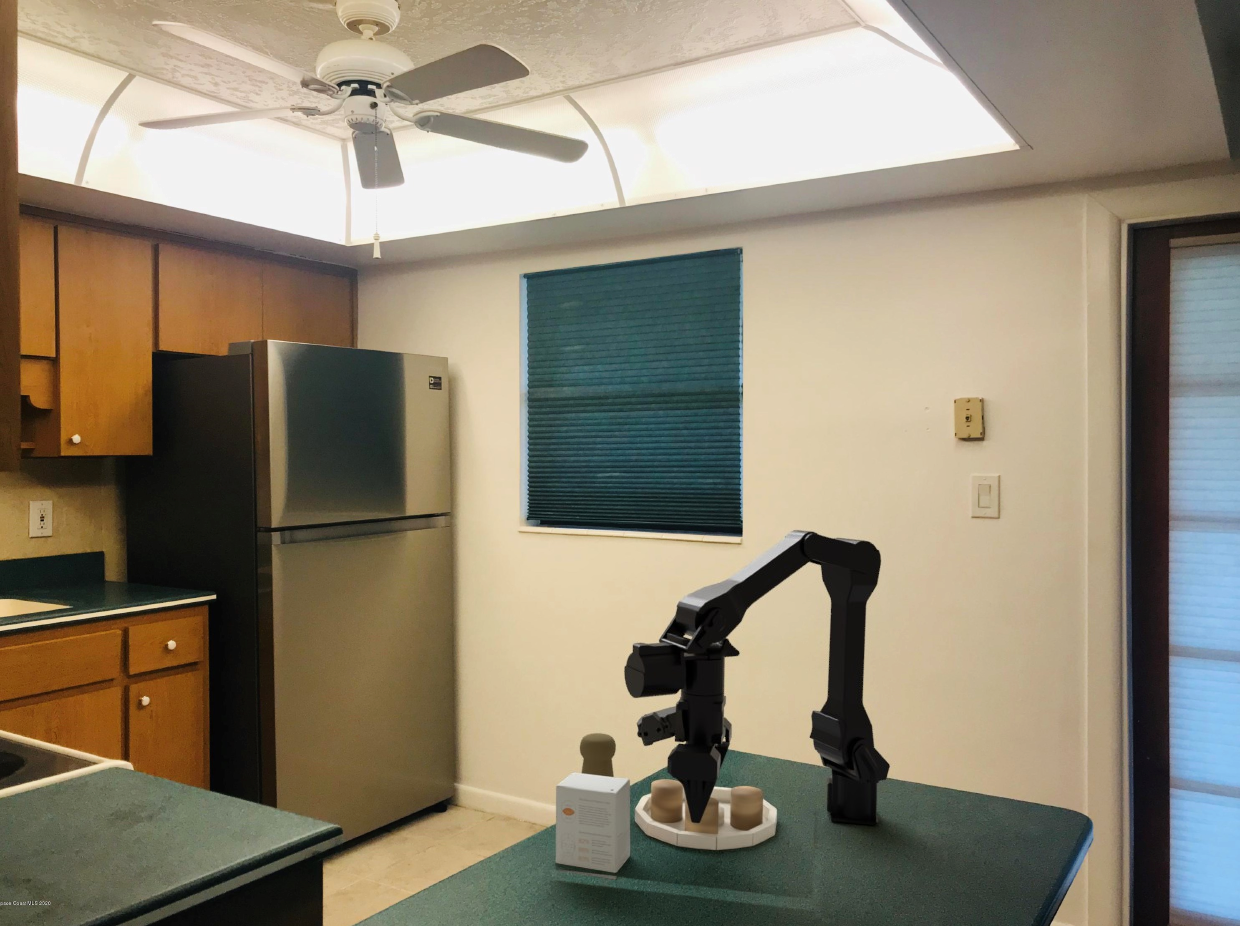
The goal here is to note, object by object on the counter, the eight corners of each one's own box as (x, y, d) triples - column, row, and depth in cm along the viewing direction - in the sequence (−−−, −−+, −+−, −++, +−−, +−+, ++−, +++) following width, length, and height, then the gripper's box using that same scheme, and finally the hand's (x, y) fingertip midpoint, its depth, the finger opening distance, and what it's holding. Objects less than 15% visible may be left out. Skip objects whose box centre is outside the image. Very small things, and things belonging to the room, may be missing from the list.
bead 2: (687, 828, 123) (687, 794, 124) (719, 831, 123) (720, 797, 123) (682, 840, 119) (682, 805, 119) (716, 844, 118) (716, 809, 118)
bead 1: (684, 812, 129) (685, 780, 129) (679, 824, 125) (680, 791, 125) (653, 809, 130) (654, 777, 130) (648, 821, 126) (648, 788, 126)
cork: (612, 821, 128) (614, 742, 128) (571, 817, 129) (572, 739, 129) (621, 806, 134) (622, 730, 134) (581, 802, 135) (582, 727, 135)
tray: (779, 810, 133) (779, 792, 133) (771, 863, 115) (772, 842, 115) (650, 798, 138) (651, 780, 138) (623, 847, 119) (624, 827, 119)
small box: (630, 862, 115) (632, 778, 115) (615, 881, 109) (617, 792, 109) (571, 853, 117) (572, 770, 117) (553, 870, 112) (555, 784, 112)
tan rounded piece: (761, 832, 122) (762, 798, 122) (728, 829, 123) (729, 795, 123) (763, 820, 127) (764, 787, 127) (731, 817, 128) (732, 784, 128)
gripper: (655, 672, 132) (653, 781, 132) (628, 703, 114) (625, 830, 113) (732, 677, 129) (731, 788, 129) (717, 710, 111) (715, 839, 111)
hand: (700, 809), depth 121 cm, fingers open, 9 cm apart
